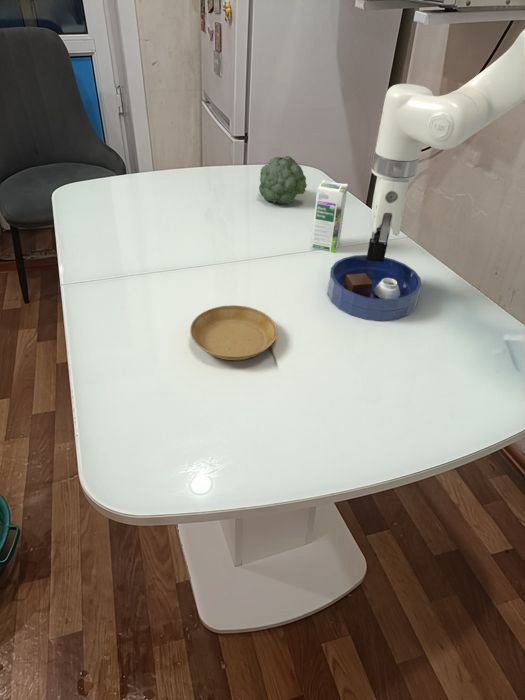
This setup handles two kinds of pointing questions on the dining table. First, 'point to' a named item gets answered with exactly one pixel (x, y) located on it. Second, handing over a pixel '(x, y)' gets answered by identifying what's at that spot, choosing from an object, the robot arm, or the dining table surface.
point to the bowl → (376, 272)
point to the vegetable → (281, 180)
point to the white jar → (387, 289)
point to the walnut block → (359, 284)
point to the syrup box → (328, 216)
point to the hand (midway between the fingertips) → (374, 259)
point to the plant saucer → (233, 332)
